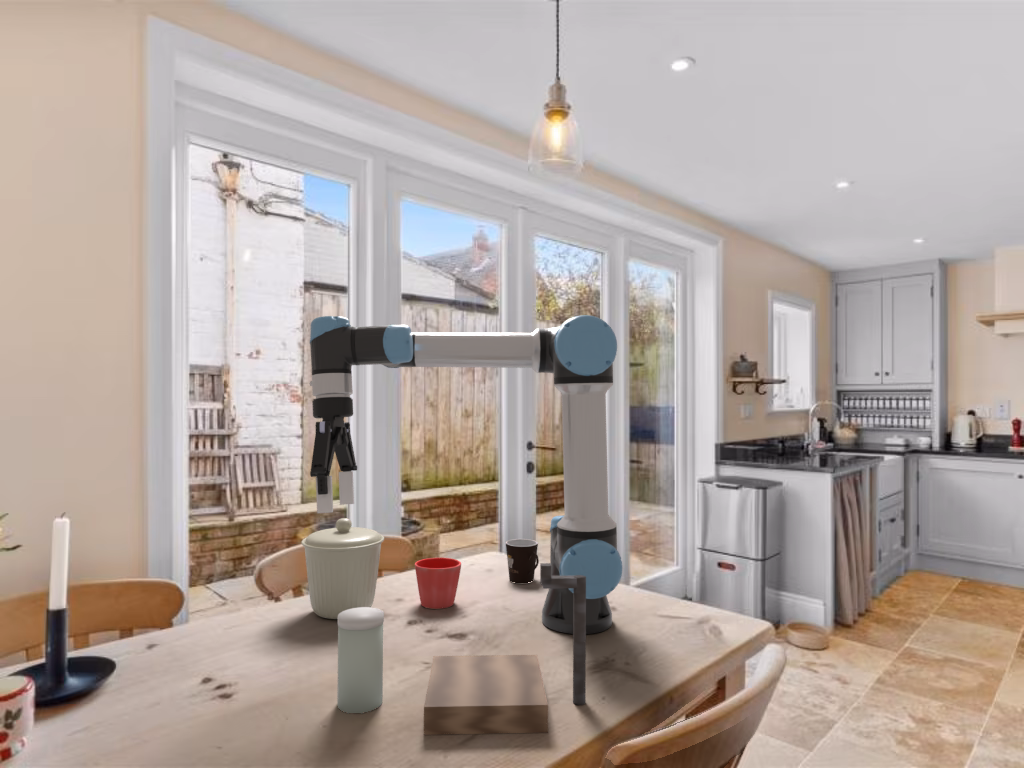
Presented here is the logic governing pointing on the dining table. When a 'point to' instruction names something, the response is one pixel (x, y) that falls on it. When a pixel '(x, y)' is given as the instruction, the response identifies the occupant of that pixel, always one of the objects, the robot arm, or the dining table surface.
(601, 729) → the dining table surface
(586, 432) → the robot arm
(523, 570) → the coffee mug
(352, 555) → the canister
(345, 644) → the domed lid bottle
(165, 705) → the dining table surface
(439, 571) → the flower pot
